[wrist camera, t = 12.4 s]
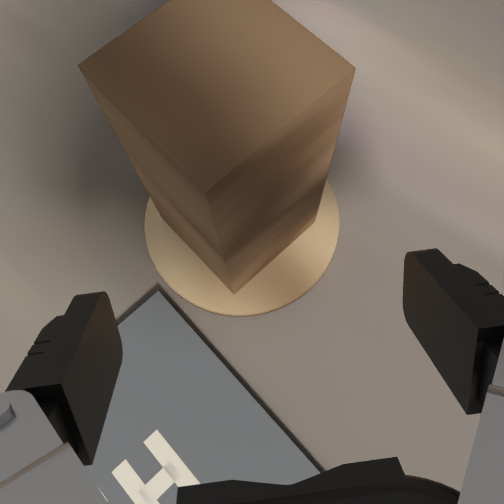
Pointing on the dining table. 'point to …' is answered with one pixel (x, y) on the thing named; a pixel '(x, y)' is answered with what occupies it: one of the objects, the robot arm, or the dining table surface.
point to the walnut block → (226, 124)
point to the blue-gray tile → (183, 418)
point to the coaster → (264, 283)
